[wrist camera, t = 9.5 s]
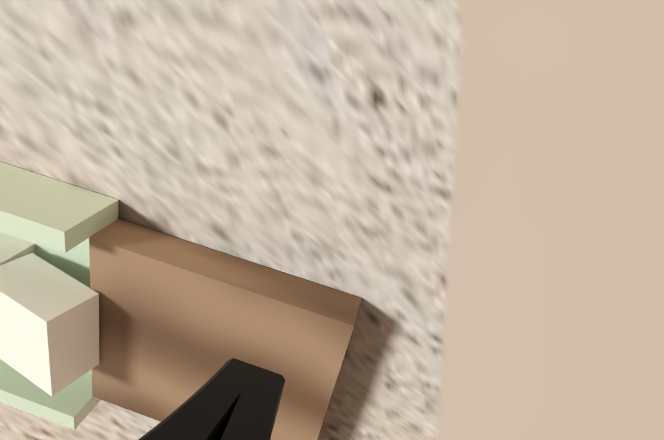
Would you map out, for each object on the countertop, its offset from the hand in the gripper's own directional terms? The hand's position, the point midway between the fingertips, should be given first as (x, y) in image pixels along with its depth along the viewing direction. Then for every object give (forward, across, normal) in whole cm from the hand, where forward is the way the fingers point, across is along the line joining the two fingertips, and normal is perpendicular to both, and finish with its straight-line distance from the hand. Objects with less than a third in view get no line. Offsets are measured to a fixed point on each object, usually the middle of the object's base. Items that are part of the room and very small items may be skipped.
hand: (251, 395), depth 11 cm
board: (+9, +4, +8) cm, 13 cm away
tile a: (+8, +12, +8) cm, 16 cm away
